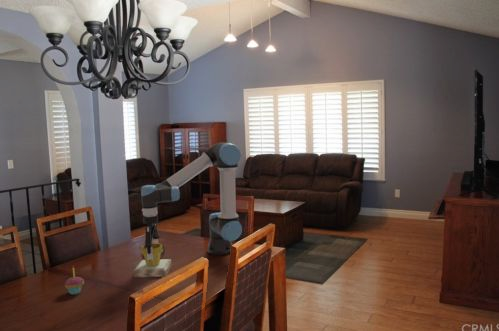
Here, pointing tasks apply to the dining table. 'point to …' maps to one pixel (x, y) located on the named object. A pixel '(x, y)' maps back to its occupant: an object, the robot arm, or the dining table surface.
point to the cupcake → (74, 284)
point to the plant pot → (156, 254)
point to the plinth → (153, 269)
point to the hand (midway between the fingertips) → (153, 255)
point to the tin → (160, 256)
